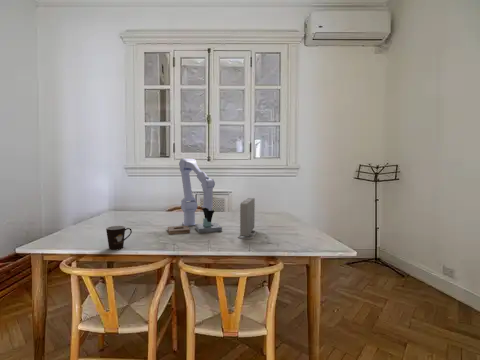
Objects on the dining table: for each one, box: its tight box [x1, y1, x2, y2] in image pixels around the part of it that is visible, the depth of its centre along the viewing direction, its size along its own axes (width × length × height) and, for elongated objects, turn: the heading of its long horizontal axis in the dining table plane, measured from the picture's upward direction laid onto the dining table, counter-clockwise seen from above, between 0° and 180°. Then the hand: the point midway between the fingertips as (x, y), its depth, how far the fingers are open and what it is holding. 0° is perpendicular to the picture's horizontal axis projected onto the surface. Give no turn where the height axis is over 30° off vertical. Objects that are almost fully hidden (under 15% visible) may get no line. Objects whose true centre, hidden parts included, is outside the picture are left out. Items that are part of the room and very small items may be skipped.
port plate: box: [194, 222, 223, 234], centre depth 186 cm, size 14×14×2 cm
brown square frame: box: [167, 225, 191, 235], centre depth 181 cm, size 12×12×2 cm
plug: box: [202, 217, 212, 227], centre depth 186 cm, size 3×4×7 cm
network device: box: [237, 197, 258, 240], centre depth 173 cm, size 26×9×20 cm, turn 168°
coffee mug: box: [105, 225, 132, 251], centre depth 146 cm, size 12×9×10 cm
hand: (208, 220), depth 186 cm, fingers open, 7 cm apart
